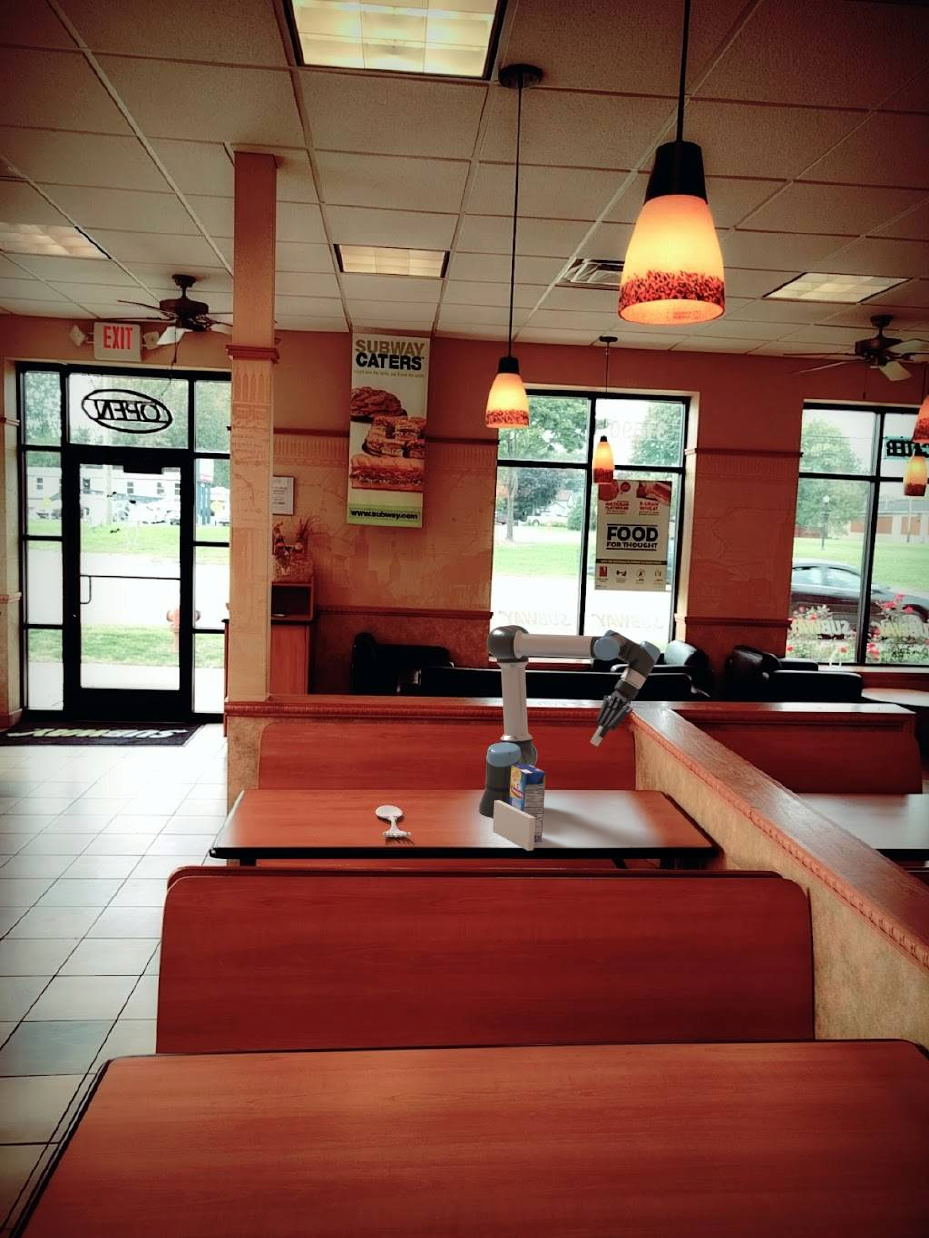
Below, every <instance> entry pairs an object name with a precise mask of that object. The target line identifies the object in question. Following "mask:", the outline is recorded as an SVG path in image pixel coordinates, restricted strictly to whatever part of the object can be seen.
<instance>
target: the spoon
mask: <svg viewBox="0 0 929 1238" xmlns="http://www.w3.org/2000/svg"><path fill="white" fill-rule="evenodd" d="M375 814H376V815H377V816H378V817H380V818H381V819H387V820H388V821H391V824H390V825H391V827H390V829H389V830H386V831H383V832H382V836H383V837H391V838H402V837H410V836H412V833H411V832H407V831H403V830H400V829H399V828H398V826H397V820H398V819H399V818H401V817H402V816H403V814H404V813H403V811H402V809H400V808H398V807H397V806H393V805H390V804H389V805H382V806H379V807H377V809H376V810H375Z"/></svg>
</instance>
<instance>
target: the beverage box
mask: <svg viewBox="0 0 929 1238" xmlns="http://www.w3.org/2000/svg"><path fill="white" fill-rule="evenodd" d="M546 775H547V772H545V771H544V770H542V769H541V768H537V767H536V766H535V765H534V766H533V765H531V764H529V765H512V767H511V784H510V801H509V805H511V806H513V807H515V808H517V809H519V810H521V811H523V812H525V813H527V814H529V815H531V816H533V817H535V832H534V843H542V841H543V840H542V839H543V838H542V837H543V821H544V809H545V808H544V807H545V791H546V789H545V788H546V778H547V777H546Z"/></svg>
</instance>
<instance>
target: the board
mask: <svg viewBox="0 0 929 1238" xmlns="http://www.w3.org/2000/svg"><path fill="white" fill-rule="evenodd" d="M492 818H493V819H492V833H493V832H494V833H495V834H497V835H499V836H500V837H502V838H505V839H506V840H507V841H510V842H511V843H513V844H514V845H516V846H518V847H520V848H522V849H524V850H526V851H527V852H528V851H529V852H530V851H534V849H535V848H534V846H535V842H534V832H535V817H533V816H531V815H529V814H527V813H525V812H523V811H521V810H519V809H517V808H515V807H513V806H511V805H509V804H507V803H504V802H502V801H500V800H496V801H494V816H493V817H492Z"/></svg>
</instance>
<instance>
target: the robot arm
mask: <svg viewBox="0 0 929 1238" xmlns="http://www.w3.org/2000/svg"><path fill="white" fill-rule="evenodd" d="M486 648H487V651H488V653H490V655H491V656H493V657H494V658H496V665H498V666H499V667H500V670H501V690H502V711H503V712H502V713H503V714H502V715H503V731H504V733H503V734H502V736H501V737H500V742H499V743H498V742H497V743H494V744H491V745H490V746H489V747H488V748H487V752H486V753H487V754H486V764H485V785H484V792H483V794H482V796H481V798H480V799H481V800H480V802H479V804H478V805H479V806H478V812H479V813H480V814H482V815H484V816H486V817H490V818H493V816H494V801H496V800H500V801H502V802H504V803H507V804H509V801H510V784H511V767H512V765H529V764H531V765H533V766H535V765H536V763H537V760H538V751H537V749H536V746H535V745H534V743H533V736H532V735H531V734H530V733H529V729H528V728H529V727H528V726H529V725H528V710H527V709H528V705H527V685H526V681H527V680H526V666H527V664H529V662H530V659H529V658H530V657H544V658H545V657H546V658H548V657H549V658H571V659H573V658H574V659H591V660H593V659H594V660H602V661H611V660H612V661H613V660H614V659H616V658H617V659H619V660H621V661H623V662H624V663H626V664H627V666H626V668H625V669H624V671H623V672H622V674H621V676H620V679H618V681H617V682H616V684H615V686H614V692H612V693H611V695H604V696H603V703H602V705H601V707H600V710H599V712H598V715H597V716H596V721H595V722H597V723H598V726H597V727H596V729H595V730H594V734H593V735H592V738H591V739H590V741H589V743H591V744H592V745H594V746H595V747H598V746H599V745H600V744H601V742H602V740H603V739H605V737H606V735H607V734H608V732H609V731H615V730H616V728H618V726H619V725H620V724H621V723H622V721H624V720H625V718H626V717H627V716H628V715H629V714H631V713H632V712H633V708H632V707H631V703H632V702H631V701H633V700H634V699H635V698H636V696H637V695H638V693H639V690H640V689H641V688H642V686H643V685H644V683H645V681H646V680H647V679H648V676H650V674H651V672H652V670H653V668H654V666H656V664H657V661H658V659H660V655H661V653H662V652H661V650H660V648H659V647H657V646H656V645H655V644H654V643H651V642H650V641H647V640H642V642H641V643H640V644H639V643H637V642H635V641H634V640H631V639H629V638H627V637H626V636H624V635H622V634H620V632H617V631H615V630H612V629H608V630H607V631H606V632H604V634H603V636H602V635H600V636H599V635H598V636H597V635H596V636H595V635H574V634H573V635H570V634H568V635H567V634H546V633H544V634H542V633H530V632H529V631H528V630H527V628H525V627H524V626H520V625H516V624H511V625H510V624H509V625H503V626H502V625H501V626H498V627H495V628H493V629H492V630H491V631H490V632H489V633H488V635H487V639H486Z"/></svg>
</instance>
